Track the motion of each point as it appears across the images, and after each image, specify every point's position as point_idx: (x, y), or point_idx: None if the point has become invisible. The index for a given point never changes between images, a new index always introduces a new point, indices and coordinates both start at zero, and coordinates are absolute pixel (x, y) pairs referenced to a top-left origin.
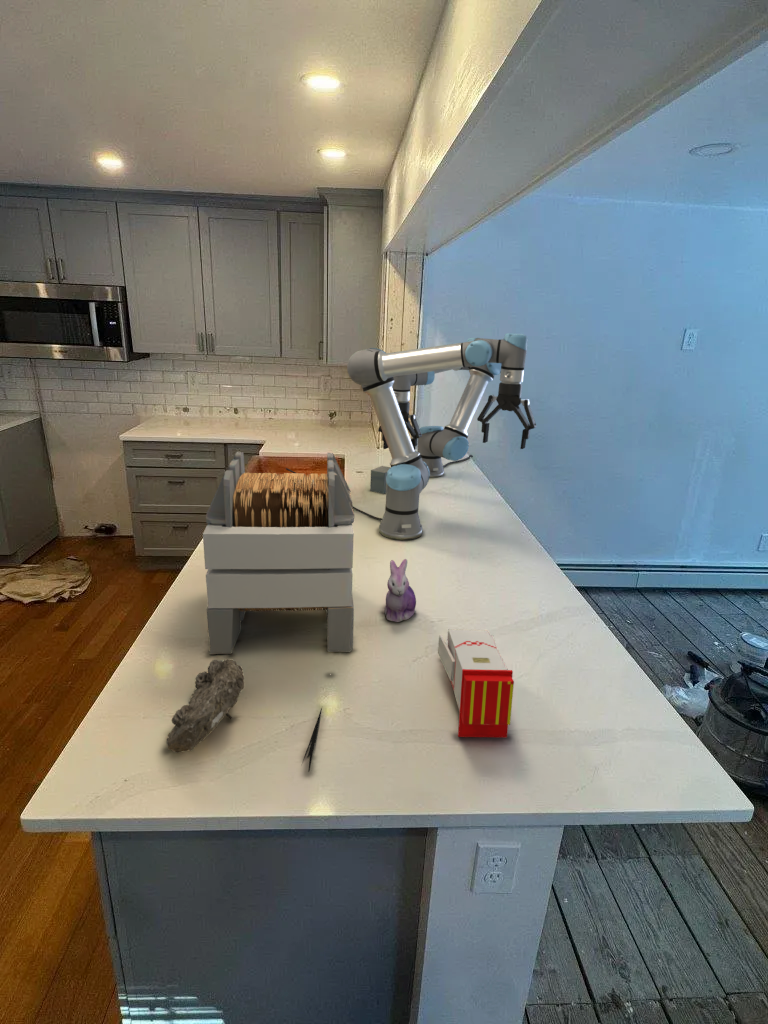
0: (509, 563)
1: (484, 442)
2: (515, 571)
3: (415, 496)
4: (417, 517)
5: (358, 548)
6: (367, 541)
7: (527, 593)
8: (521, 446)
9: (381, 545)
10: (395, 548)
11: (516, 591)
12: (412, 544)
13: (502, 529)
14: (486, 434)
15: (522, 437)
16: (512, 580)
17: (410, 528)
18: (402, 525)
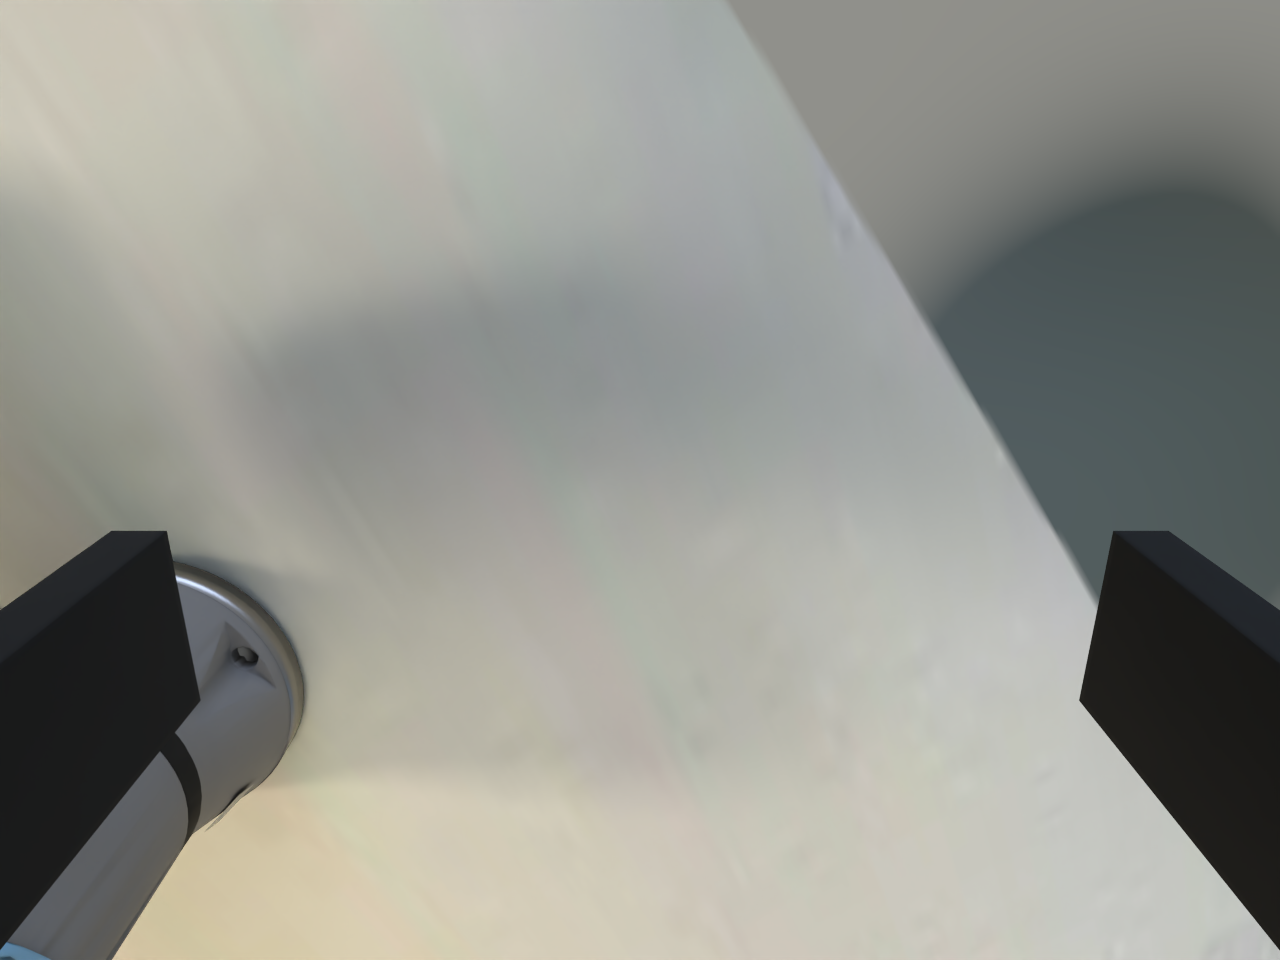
0: (892, 701)
1: (189, 703)
2: (945, 767)
3: (131, 905)
4: (219, 744)
5: (167, 954)
6: None
7: (1044, 923)
8: (1128, 734)
9: (223, 873)
10: (303, 864)
11: (995, 931)
12: (337, 778)
13: (681, 201)
14: (70, 781)
15: (1274, 912)
16: (954, 855)
17: (253, 780)
18: (210, 827)
